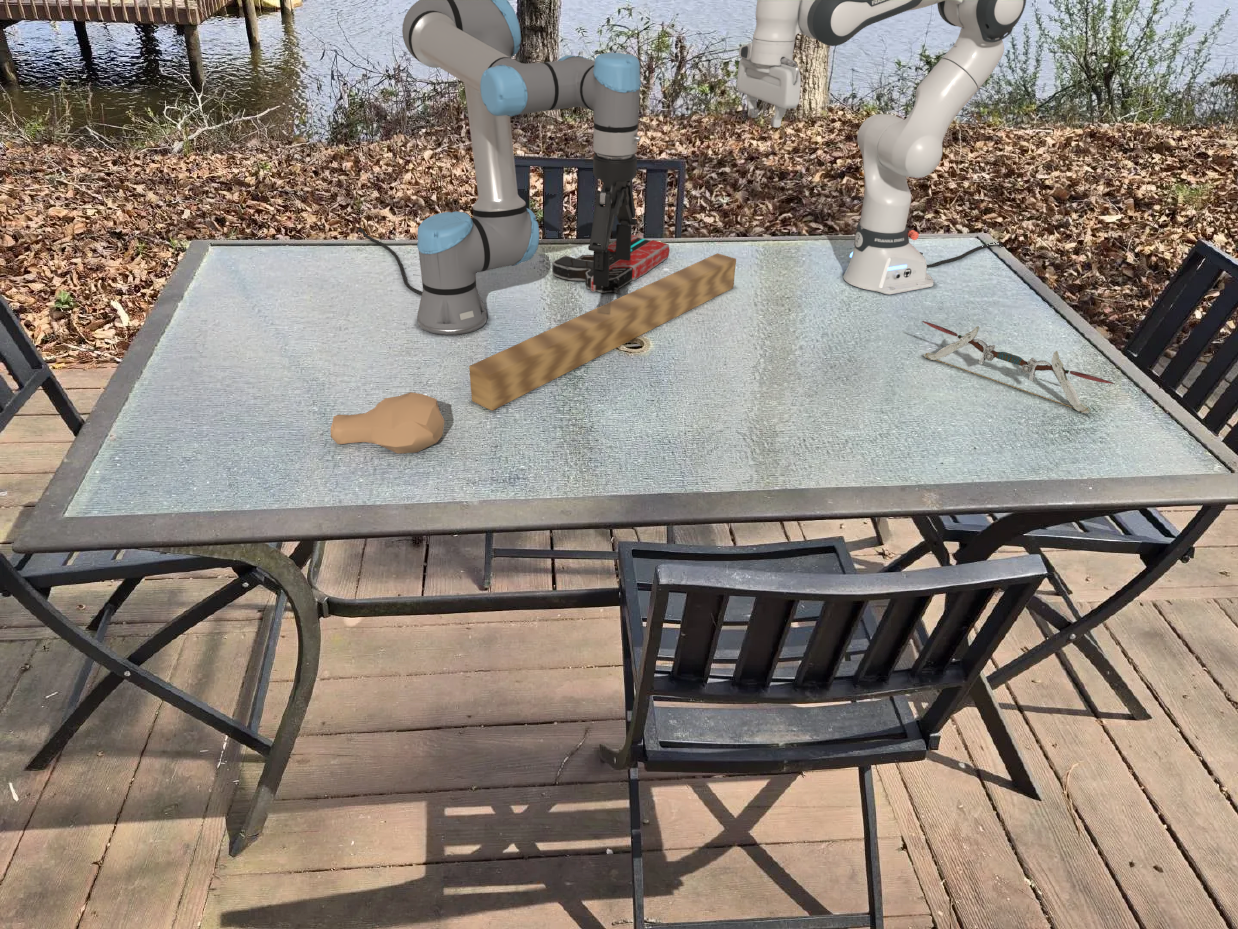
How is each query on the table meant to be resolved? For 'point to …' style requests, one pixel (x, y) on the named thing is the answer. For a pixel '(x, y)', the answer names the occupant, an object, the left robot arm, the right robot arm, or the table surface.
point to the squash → (393, 424)
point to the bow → (1026, 366)
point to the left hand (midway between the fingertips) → (612, 271)
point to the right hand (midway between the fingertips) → (763, 121)
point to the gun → (614, 264)
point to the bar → (597, 332)
